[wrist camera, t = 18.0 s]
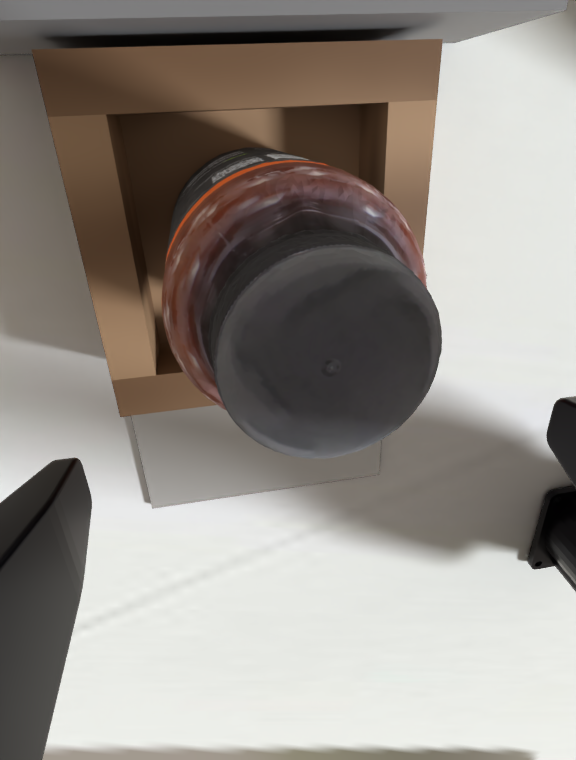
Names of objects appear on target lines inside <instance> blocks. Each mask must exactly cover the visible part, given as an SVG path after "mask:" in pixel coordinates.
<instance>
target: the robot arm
mask: <svg viewBox="0 0 576 760" xmlns="http://www.w3.org/2000/svg"><path fill="white" fill-rule="evenodd" d="M547 442H548V445H549V447H550V448H551V450H552V451H553V453H554V455H555V456H556V458H557V459H558V461H559V463H560V464H561V466H562V467H563V469H564V470H565V472H566V474H567V475H568V477H569V478H570V480H571V481H572V483H573V485H574V486H572V487H566V488H560V489H554V490H551V491H550V492H548V493H547V495H546V497H545V500H544V504H543V507H542V511H541V515H540V518H539V522H538V525H537V529H536V533H535V536H534V540H533V544H532V547H531V551H530V554H529V558H528V563H529V565H530V566H531V567H532V569H541V568H546V567H552V566H555V567H556V568H557V569H558V570H559V572H560V573H561V574H562V575H563V576H564V578H565V579H566V580H567V581H568V583H569V584H570V585H571V586H572V587H573V589H574V590H575V591H576V396H574V397H566V398H560V399H559V400H557V401H556V403H555V404H554V407H553V411H552V414H551V418H550V422H549V426H548V430H547ZM91 509H92V500H91V494H90V490H89V487H88V483H87V480H86V476H85V473H84V469H83V466H82V463H81V461H80V460H79V459H77V458H68V459H60V460H54V461H52V462H51V463H49V464H48V465H47V466H46V467H44V468H43V469H42V470H41V471H39V472H38V473H37V474H36V475H34V476H33V477H32V478H31V479H29V480H28V481H27V482H26V483H24V484H23V485H22V486H21V487H19V488H18V489H17V490H16V491H14V492H13V493H12V494H11V495H9V496H8V497H7V498H6V499H4V500H3V501H2V502H1V503H0V760H42V758H43V754H44V750H45V746H46V742H47V738H48V733H49V729H50V725H51V721H52V716H53V712H54V708H55V704H56V699H57V695H58V691H59V687H60V683H61V678H62V674H63V670H64V666H65V661H66V657H67V653H68V649H69V644H70V640H71V636H72V632H73V628H74V623H75V619H76V615H77V611H78V606H79V602H80V597H81V592H82V588H83V580H84V573H85V564H86V555H87V545H88V536H89V527H90V518H91Z"/></svg>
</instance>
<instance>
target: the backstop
mask: <svg viewBox="0 0 576 760" xmlns="http://www.w3.org/2000/svg"><path fill="white" fill-rule="evenodd" d="M567 4H568V0H0V55H21V54H32V50H31V49H68V48H107V47H146V46H184V45H223V44H262V43H301V42H339V41H378V40H417V39H443V40H442V43H456V42H460V41H463V40H466V39H470V38H473V37H477V36H480V35H484V34H487V33H490V32H494V31H497V30H501V29H504V28H507V27H511V26H514V25H518V24H521V23H524V22H528V21H531V20H535V19H538V18H541V17H545V16H548V15H552V14H555V13H558V12H562V11H565V10H566V9H567ZM131 418H132V422H133V427H134V431H135V435H136V440H137V444H138V448H139V453H140V457H141V461H142V466H143V470H144V474H145V479H146V483H147V488H148V492H149V496H150V501H151V505H152V509H153V508H159V507H166V506H173V505H179V504H186V503H193V502H200V501H206V500H213V499H220V498H226V497H233V496H240V495H247V494H253V493H260V492H267V491H273V490H280V489H287V488H293V487H300V486H307V485H314V484H320V483H327V482H334V481H340V480H347V479H354V478H361V477H367V476H374V475H379V471H380V455H381V440H380V441H378V442H376V443H375V444H373V445H370V446H368V447H366V448H365V449H363V450H360V451H356V452H353V453H350V454H346V455H342V456H338V457H333V458H324V459H323V458H313V459H308V458H301V457H295V456H289V455H285V454H282V453H280V452H275V451H273V450H272V449H269V448H267V447H264V446H263V445H261V444H259V443H258V442H256V441H255V440H253V439H252V438H251V437H249V436H248V435H247V434H246V433H244V432H243V431H242V430H241V429H240V428H239V427H238V426H237V425H236V424H235V422H234V421H233V420H232V418H231V417H230V416H229V414H228V412H227V410H224V409H222V408H221V407H219V406H218V405H214V406H206V407H198V408H189V409H181V410H173V411H165V412H157V413H149V414H141V415H133V416H131Z"/></svg>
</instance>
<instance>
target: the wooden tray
mask: <svg viewBox="0 0 576 760" xmlns="http://www.w3.org/2000/svg"><path fill="white" fill-rule="evenodd" d="M442 40H443V39H417V40H378V41H339V42H301V43H262V44H223V45H184V46H146V47H107V48H68V49H31V50H32V54H33V58H34V62H35V66H36V70H37V75H38V79H39V83H40V87H41V91H42V95H43V99H44V103H45V108H46V112H47V116H48V120H49V124H50V128H51V132H52V136H53V141H54V145H55V149H56V153H57V157H58V161H59V165H60V169H61V174H62V178H63V182H64V186H65V190H66V194H67V198H68V202H69V207H70V211H71V215H72V219H73V223H74V227H75V231H76V235H77V240H78V244H79V248H80V252H81V256H82V260H83V264H84V268H85V273H86V277H87V281H88V285H89V289H90V293H91V297H92V301H93V306H94V310H95V314H96V318H97V322H98V326H99V330H100V334H101V339H102V343H103V347H104V351H105V355H106V359H107V363H108V367H109V372H110V376H111V380H112V384H113V388H114V392H115V396H116V400H117V405H118V409H119V413H120V417H125V416H133V415H141V414H149V413H157V412H165V411H173V410H181V409H189V408H198V407H206V406H214V405H217V404H215V403H214V402H212V401H211V400H209V399H208V398H207V397H206V396H205V395H203V394H202V393H201V392H200V391H199V390H198V389H197V388H196V387H195V386H194V385H193V383H192V382H191V381H190V380H189V379H188V377H187V376H186V375H185V374H184V372H183V370H182V369H181V367H180V365H179V364H178V362H177V360H176V358H175V356H174V354H173V353H172V350H171V347H170V344H169V342H168V339H167V335H166V331H165V327H164V322H163V315H162V287H163V278H164V273H165V262H166V254H167V247H168V242H169V235H170V229H171V221H172V215H173V210H174V207H175V204H176V201H177V199H178V196H179V194H180V192H181V190H182V189H183V188H184V186H185V184H186V182H187V181H188V180H189V179H190V177H191V176H192V175H193V174H194V173H195V172H196V171H197V170H198V169H199V168H201V167H202V166H203V165H204V164H205V163H207V162H208V161H210V160H211V159H213V158H215V157H216V156H219V155H221V154H223V153H226V152H229V151H232V150H236V149H241V148H247V147H254V148H256V147H257V148H270V149H274V150H278V151H281V152H284V153H288V154H292V155H296V156H300V157H303V158H305V159H308V160H312V161H318V162H321V163H325V164H327V165H329V166H332V167H335V168H338V169H342V170H344V171H346V172H348V173H350V174H352V175H354V176H356V177H358V178H360V179H362V180H364V181H365V182H367V183H368V184H370V185H372V186H374V187H375V188H376V189H377V190H379V191H380V192H381V193H382V194H383V195H384V196H386V197H387V198H388V199H389V200H390V201H391V202H393V204H394V205H395V206H396V207H397V208H398V210H399V211H400V212H401V214H402V215H403V216H404V218H405V219H406V220H407V222H408V224H409V226H410V227H411V229H412V232H413V234H414V235H415V237H416V240H417V243H418V246H419V248H420V251H421V254H422V256H423V248H424V237H425V226H426V215H427V204H428V193H429V182H430V171H431V160H432V149H433V138H434V127H435V116H436V105H437V94H438V83H439V72H440V62H441V51H442Z"/></svg>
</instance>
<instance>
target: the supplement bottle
mask: <svg viewBox="0 0 576 760" xmlns="http://www.w3.org/2000/svg"><path fill="white" fill-rule="evenodd" d="M426 276H427V275H426V272H425V265H424V260H423V256H422V254H421V251H420V248H419V246H418V243H417V240H416V237H415V235H414V234H413V232H412V229H411V227H410V226H409V224H408V222H407V220H406V219H405V218H404V216H403V215H402V214H401V212H400V211H399V210H398V208H397V207H396V206H395V205H394V204H393V202H391V201H390V200H389V199H388V198H387V197H386V196H384V195H383V194H382V193H381V192H380V191H379V190H377V189H376V188H375V187H374V186H372V185H370V184H368V183H367V182H365V181H364V180H362V179H360V178H358V177H356V176H354V175H352V174H350V173H348V172H346V171H344V170H342V169H338V168H335V167H332V166H329V165H327V164H325V163H321V162H318V161H312V160H308V159H305V158H303V157H300V156H296V155H292V154H288V153H284V152H281V151H278V150H274V149H270V148H257V147H256V148H254V147H247V148H241V149H236V150H232V151H229V152H226V153H223V154H221V155H219V156H216V157H215V158H213V159H211V160H210V161H208V162H207V163H205V164H204V165H203V166H202V167H201V168H199V169H198V170H197V171H196V172H195V173H194V174H193V175H192V176H191V177H190V179H189V180H188V181H187V182H186V184H185V186H184V188H183V189H182V190H181V192H180V194H179V196H178V199H177V201H176V204H175V207H174V210H173V215H172V221H171V229H170V235H169V242H168V247H167V254H166V262H165V273H164V278H163V287H162V315H163V322H164V327H165V331H166V335H167V339H168V342H169V344H170V347H171V350H172V353H173V354H174V356H175V358H176V360H177V362H178V364H179V365H180V367H181V369H182V370H183V372H184V374H185V375H186V376H187V377H188V379H189V380H190V381H191V382H192V383H193V385H194V386H195V387H196V388H197V389H198V390H199V391H200V392H201V393H202V394H203V395H205V396H206V397H207V398H208V399H209V400H211V401H212V402H214V403H215V404H217V405H218V406H219V407H221V408H222V409H224V410H227V412H228V414H229V416H230V417H231V418H232V420H233V421H234V422H235V424H236V425H237V426H238V427H239V428H240V429H241V430H242V431H243V432H244V433H246V434H247V435H248V436H249V437H251V438H252V439H253V440H255V441H256V442H258V443H259V444H261V445H263V446H264V447H267V448H269V449H272V450H273V451H275V452H280V453H282V454H285V455H289V456H295V457H301V458H308V459H313V458H323V459H324V458H333V457H338V456H342V455H346V454H350V453H353V452H356V451H360V450H363V449H365V448H366V447H368V446H370V445H373V444H375V443H376V442H378V441H380V440H381V439H383V438H385V437H386V436H388V435H389V434H391V433H392V432H393V431H395V430H396V429H398V428H399V427H400V426H401V425H402V424H403V423H404V422H405V421H406V420H407V419H408V418H409V417H410V416H411V415H412V413H413V412H414V411H415V410H416V409H417V407H418V406H419V405H420V403H421V402H422V400H423V399H424V397H425V396H426V394H427V393H428V391H429V389H430V387H431V384H432V382H433V380H434V377H435V374H436V371H437V367H438V363H439V357H440V354H441V344H442V337H441V332H442V331H441V325H440V319H439V313H438V310H437V308H436V305H435V303H434V301H433V299H432V297H431V295H430V293H429V292H428V290H427V286H426Z"/></svg>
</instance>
